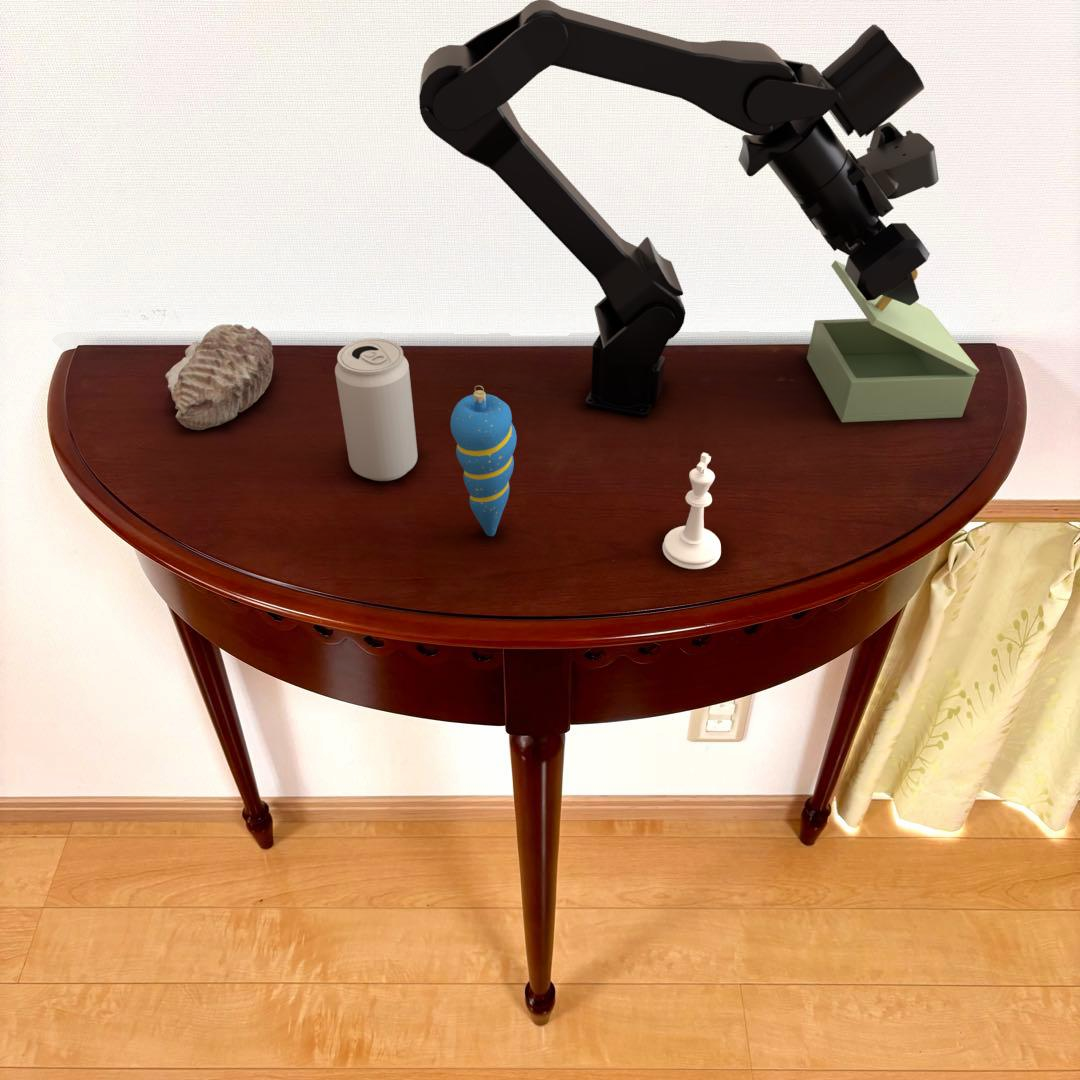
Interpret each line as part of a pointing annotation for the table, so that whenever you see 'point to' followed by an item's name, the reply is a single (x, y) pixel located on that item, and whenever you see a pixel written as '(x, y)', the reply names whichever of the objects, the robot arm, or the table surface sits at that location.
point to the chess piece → (695, 525)
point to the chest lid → (909, 324)
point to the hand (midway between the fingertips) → (902, 286)
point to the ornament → (485, 454)
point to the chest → (883, 374)
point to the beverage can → (377, 408)
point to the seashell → (220, 376)
